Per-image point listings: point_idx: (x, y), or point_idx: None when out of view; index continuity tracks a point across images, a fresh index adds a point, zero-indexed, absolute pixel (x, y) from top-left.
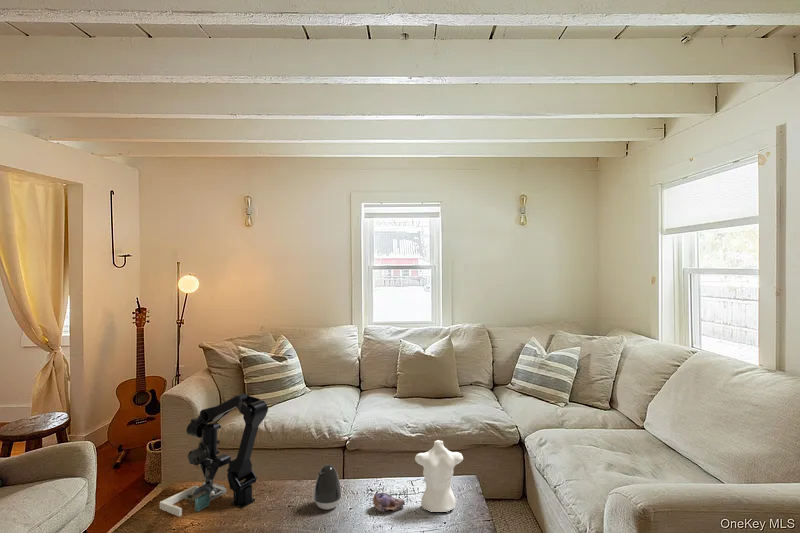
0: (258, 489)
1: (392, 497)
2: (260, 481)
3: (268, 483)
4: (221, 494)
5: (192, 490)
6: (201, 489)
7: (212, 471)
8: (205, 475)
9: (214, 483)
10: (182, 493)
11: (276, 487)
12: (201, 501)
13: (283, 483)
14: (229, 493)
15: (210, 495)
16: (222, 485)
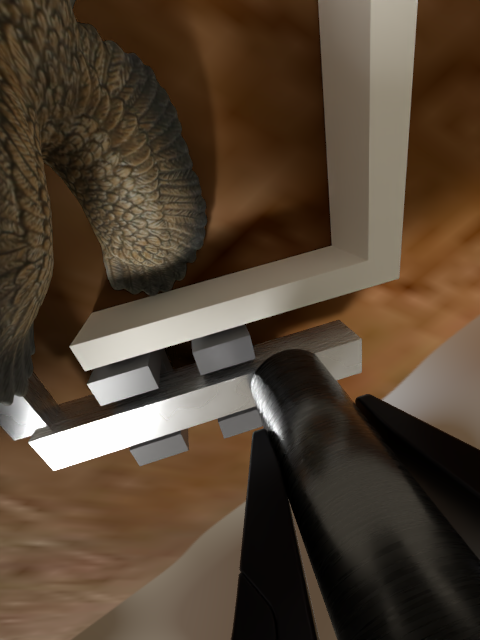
0: (48, 558)
1: None
2: (154, 569)
3: (97, 592)
4: None
5: (353, 218)
6: (5, 218)
7: (239, 622)
8: (361, 432)
9: None
10: (366, 39)
11: (10, 614)
12: None
13: (43, 633)
14: None
15: (113, 317)
16: (164, 454)
